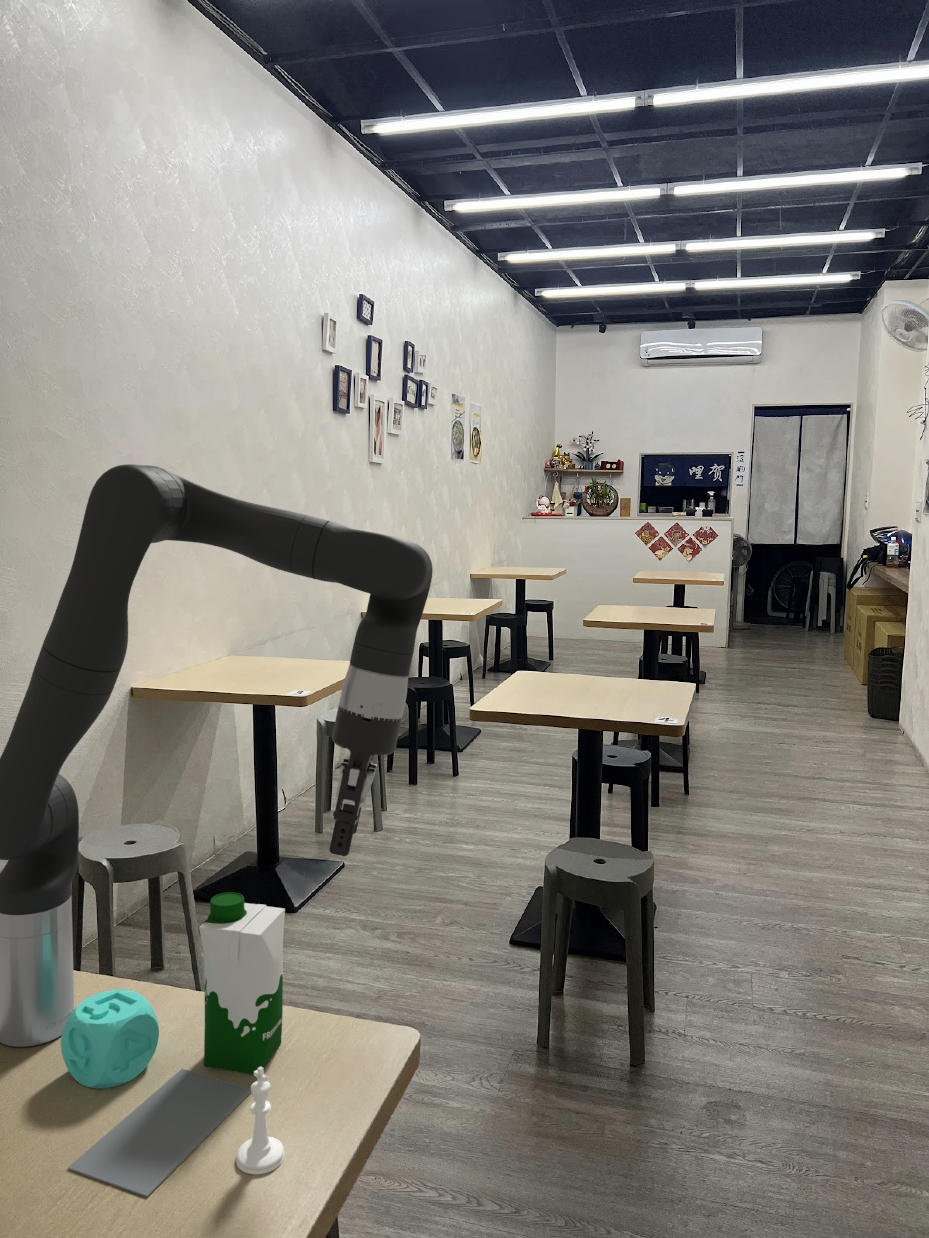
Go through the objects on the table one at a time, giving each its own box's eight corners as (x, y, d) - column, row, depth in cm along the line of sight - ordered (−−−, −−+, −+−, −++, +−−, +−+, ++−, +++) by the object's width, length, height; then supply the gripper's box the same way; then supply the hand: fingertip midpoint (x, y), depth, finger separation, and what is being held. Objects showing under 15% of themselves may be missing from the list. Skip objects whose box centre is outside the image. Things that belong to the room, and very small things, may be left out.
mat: (67, 1169, 92) (67, 1167, 92) (182, 1069, 108) (182, 1068, 108) (147, 1197, 88) (147, 1195, 88) (252, 1090, 105) (252, 1088, 105)
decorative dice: (160, 1062, 110) (159, 1000, 109) (105, 1098, 103) (103, 1032, 102) (116, 1042, 114) (115, 982, 113) (60, 1074, 107) (58, 1011, 106)
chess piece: (264, 1134, 98) (264, 1048, 96) (294, 1156, 94) (294, 1066, 93) (226, 1159, 94) (226, 1069, 93) (256, 1182, 91) (256, 1089, 90)
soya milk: (226, 1030, 117) (225, 882, 115) (291, 1040, 115) (292, 890, 113) (192, 1070, 108) (191, 911, 106) (263, 1081, 107) (263, 920, 104)
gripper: (346, 693, 112) (319, 820, 112) (331, 710, 97) (301, 855, 98) (405, 705, 112) (378, 832, 113) (399, 724, 98) (369, 868, 98)
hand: (342, 842), depth 105 cm, fingers open, 8 cm apart
